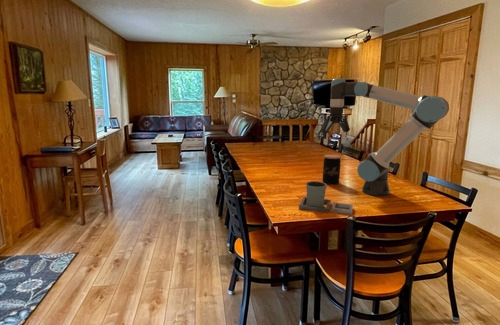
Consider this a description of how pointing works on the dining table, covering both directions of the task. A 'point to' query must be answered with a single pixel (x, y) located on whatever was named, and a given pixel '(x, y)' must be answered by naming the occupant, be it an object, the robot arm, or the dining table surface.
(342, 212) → the grey diamond-shaped open frame
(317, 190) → the grey cup
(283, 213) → the dining table surface
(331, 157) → the coffee jar
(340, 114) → the robot arm
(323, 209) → the square hollow frame
